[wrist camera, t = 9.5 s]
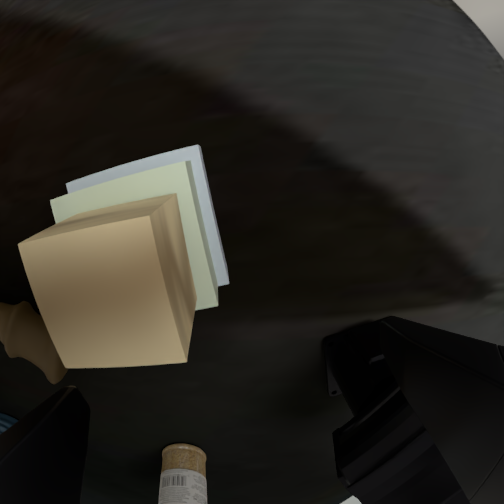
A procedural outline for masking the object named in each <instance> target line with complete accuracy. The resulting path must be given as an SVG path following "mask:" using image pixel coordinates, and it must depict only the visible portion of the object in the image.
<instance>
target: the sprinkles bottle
mask: <svg viewBox="0 0 504 504" xmlns="http://www.w3.org/2000/svg"><path fill="white" fill-rule="evenodd" d="M162 458H163V461H162V471H161V478H160V490H159V503H158V504H207V482H206V475H205V473H206V471H205V461H206V455H205V453H204V452H203V450H201V449H200V448H198V447H196V446H193V445H189V444H184V443H180V444H172V445H169V446H167V447H165V448H164V449H163V451H162Z"/></svg>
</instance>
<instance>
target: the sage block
mask: <svg viewBox="0 0 504 504" xmlns="http://www.w3.org/2000/svg"><path fill="white" fill-rule="evenodd" d="M174 193H177V199H178V205H179V210H180V216H181V221H182V227H183V232H184V237H185V242H186V247H187V252H188V257H189V262H190V267H191V272H192V276H193V281H194V286H195V290H196V295H197V301H196V307H195V310H200V309H205V308H210V307H215V306H218V282H217V278H216V273H215V269H214V265H213V261H212V257H211V252H210V248H209V244H208V239H207V235H206V230H205V226H204V221H203V217H202V212H201V208H200V203H199V198H198V194H197V189H196V184H195V179H194V175H193V170H192V165H191V160H190V161H183V162H179V163H174V164H170V165H166V166H162V167H158V168H154V169H150V170H146V171H143V172H139V173H135V174H132V175H128V176H124V177H121V178H117V179H114V180H111V181H107V182H104V183H101V184H97V185H94V186H91V187H88V188H85V189H81V190H78V191H75V192H72V193H69V194H66V195H64V196H61V197H58V198H55V199H52V200H50V203H51V207H52V211H53V215H54V218H55V222H56V224H57V223H59V222H61V221H63V220H65V219H67V218H69V217H71V216H73V215H76V214H78V213H82V212H87V211H91V210H95V209H100V208H104V207H109V206H113V205H118V204H123V203H128V202H132V201H137V200H142V199H147V198H153V197H158V196H163V195H169V194H174Z"/></svg>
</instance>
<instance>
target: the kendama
mask: <svg viewBox="0 0 504 504" xmlns="http://www.w3.org/2000/svg"><path fill="white" fill-rule="evenodd" d="M0 341H1V342H2V343H3V344H4V346H5V350H6V352H7V354H8V356H9V357H10V358H14V357H23V358H25V359H27V360H29V361H30V362H32V363H33V364H35V365H36V366H38V367H39V368H40V369H41V370H42V371H43V372H44V373H45V375H46V377H47V379H48V380H49V381H50V382H51V383H52V384H56V383H58V382H59V381H61V380H62V378H63V377H64V375H65V374H66V372H67V371H68V368H65V366H64V364H63V362H62V360H61V358H60V356H59V354H58V352H57V350H56V348H55V345H54V343H53V341H52V339H51V337H50V334H49V332H48V330H47V327H46V325H45V323H44V320H43V318H42V316H40V315H39V314H37V313H36V312H35V311H34V309H33V308H32V305H31V304H30V303H29V302H26V301H22V302H21V303H19V304H17V305H10V304H5V303H2V302H0Z"/></svg>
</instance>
